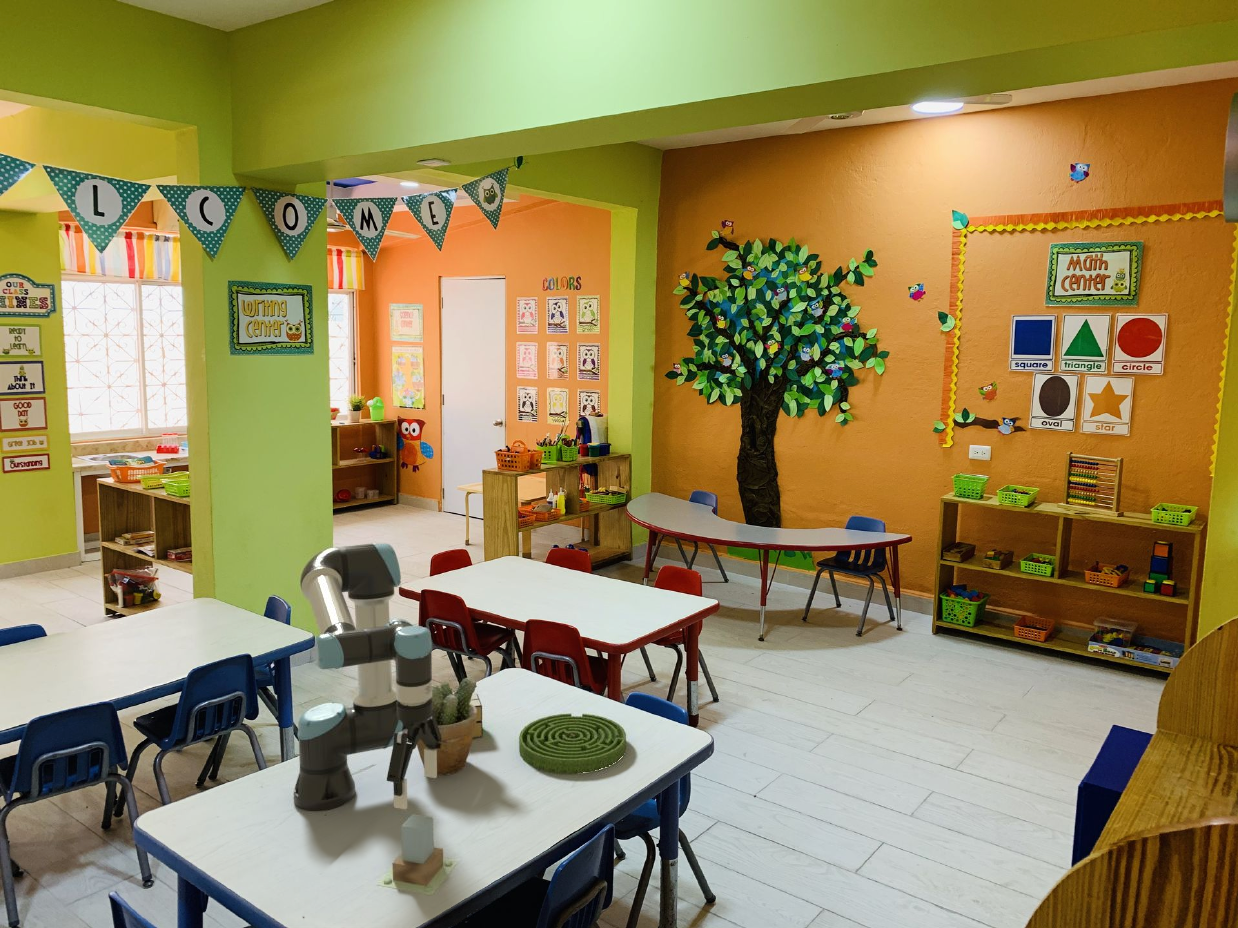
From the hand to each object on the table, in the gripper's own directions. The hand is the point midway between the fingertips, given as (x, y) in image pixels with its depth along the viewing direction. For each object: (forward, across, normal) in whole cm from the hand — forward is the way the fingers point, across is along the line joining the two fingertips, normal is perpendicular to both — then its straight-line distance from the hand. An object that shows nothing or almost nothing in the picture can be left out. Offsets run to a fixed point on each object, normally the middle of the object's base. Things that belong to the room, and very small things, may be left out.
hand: (416, 791), depth 195 cm
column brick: (+15, 0, 0) cm, 15 cm away
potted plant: (+21, +48, +18) cm, 56 cm away
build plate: (+20, 0, 0) cm, 20 cm away
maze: (+21, +68, -14) cm, 73 cm away
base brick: (+19, 0, 0) cm, 19 cm away
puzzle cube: (+21, +70, +22) cm, 76 cm away
